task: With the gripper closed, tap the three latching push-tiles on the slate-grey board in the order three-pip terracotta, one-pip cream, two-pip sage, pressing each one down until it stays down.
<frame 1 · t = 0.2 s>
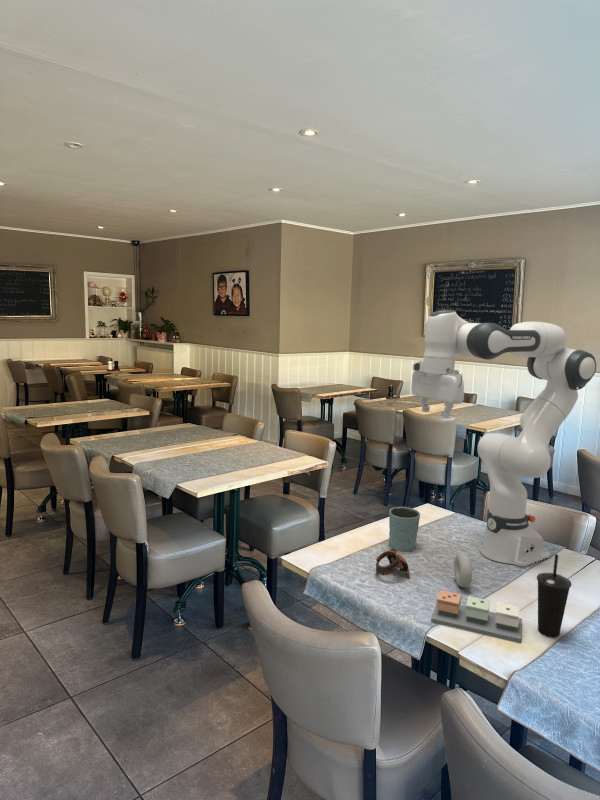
hand: (435, 414, 161), 48 cm above the table, fingers open, 8 cm apart
board: (476, 622, 139), on the table
green cylindrical pot: (402, 547, 184), on the table
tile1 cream: (507, 614, 136), point 4 cm above the table, slide at 0.0 cm
donut: (461, 586, 158), on the table
drinking cup: (548, 632, 136), on the table
tile3 terracotta: (449, 601, 141), point 4 cm above the table, slide at 0.0 cm
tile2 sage: (477, 607, 139), point 4 cm above the table, slide at 0.0 cm
brown rounded piece: (392, 574, 164), on the table
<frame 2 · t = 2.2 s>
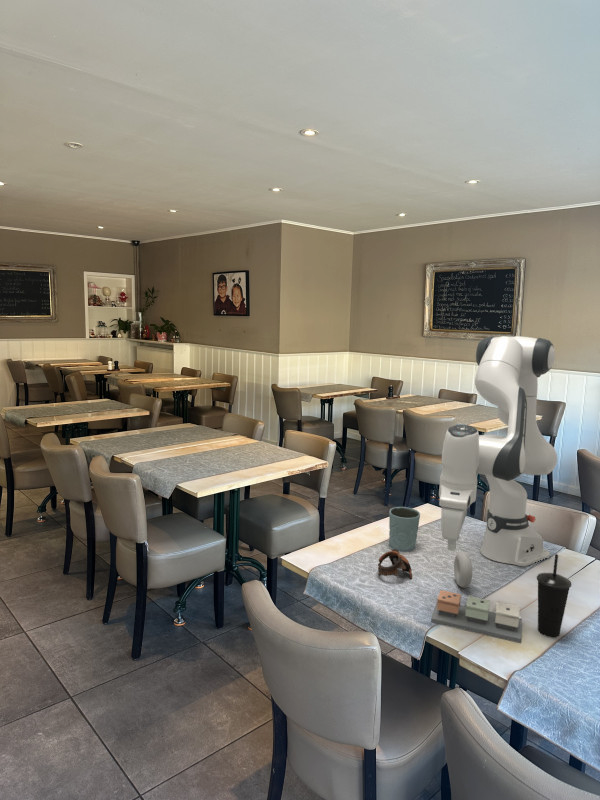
hand: (453, 544, 139), 19 cm above the table, fingers open, 5 cm apart
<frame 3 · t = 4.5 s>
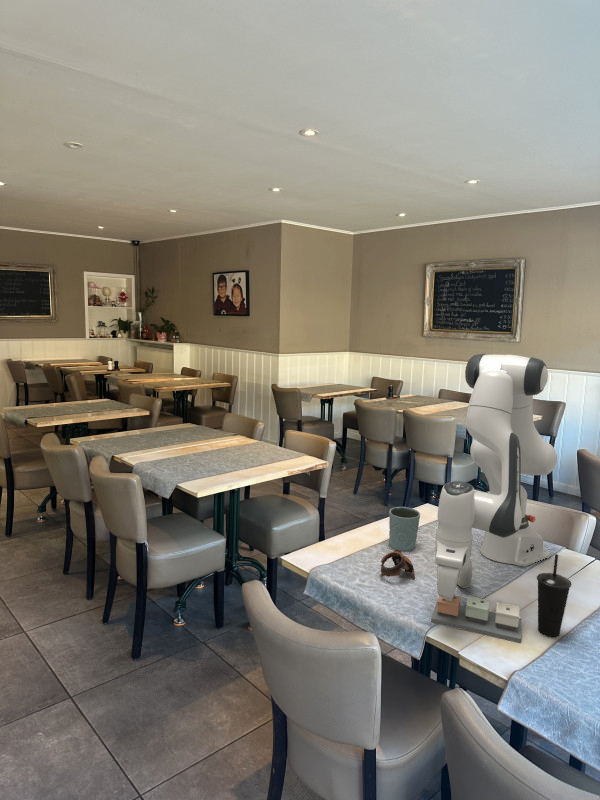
hand: (449, 598, 141), 5 cm above the table, fingers closed, pressing on tile3 terracotta
tile3 terracotta: (448, 603, 142), point 3 cm above the table, slide at -0.6 cm, touching gripper
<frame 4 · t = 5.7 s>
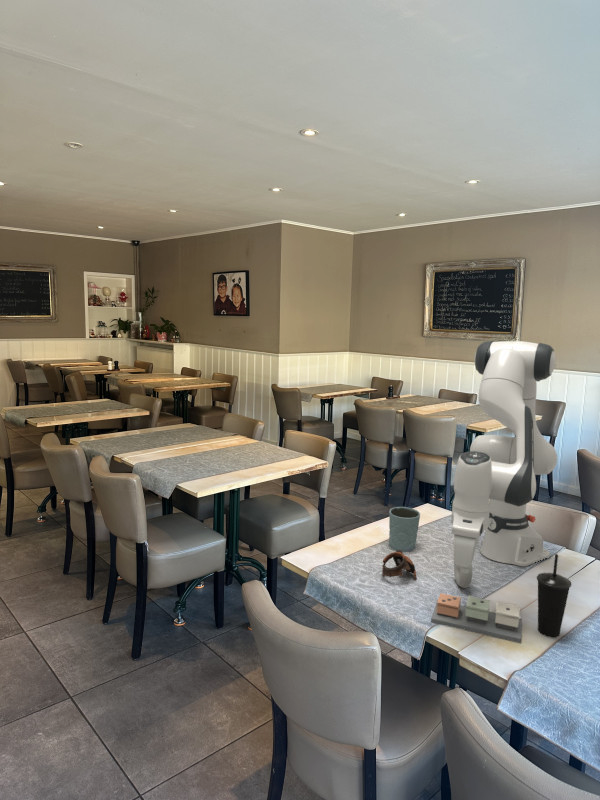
hand: (465, 570, 139), 13 cm above the table, fingers closed
tile3 terracotta: (448, 604, 142), point 3 cm above the table, slide at -0.9 cm
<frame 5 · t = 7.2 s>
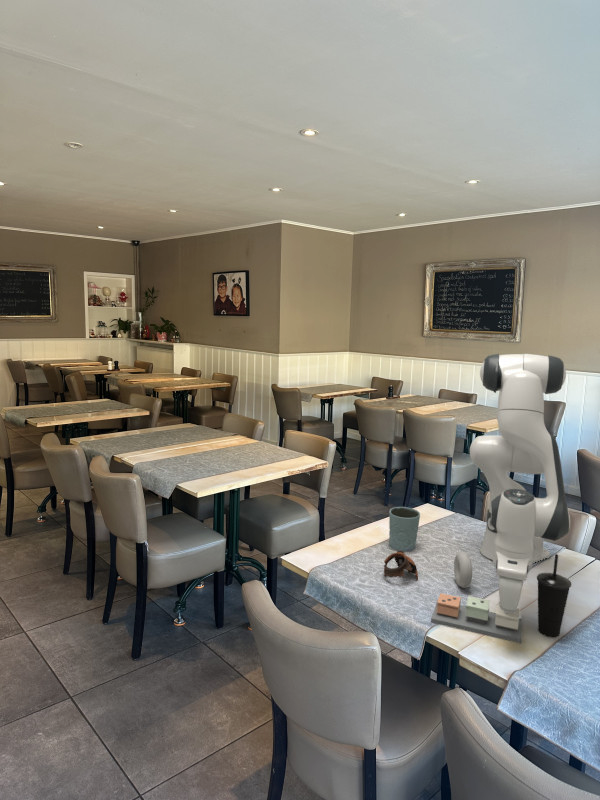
hand: (507, 611, 136), 5 cm above the table, fingers closed, pressing on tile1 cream
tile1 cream: (507, 616, 136), point 3 cm above the table, slide at -0.5 cm, touching gripper
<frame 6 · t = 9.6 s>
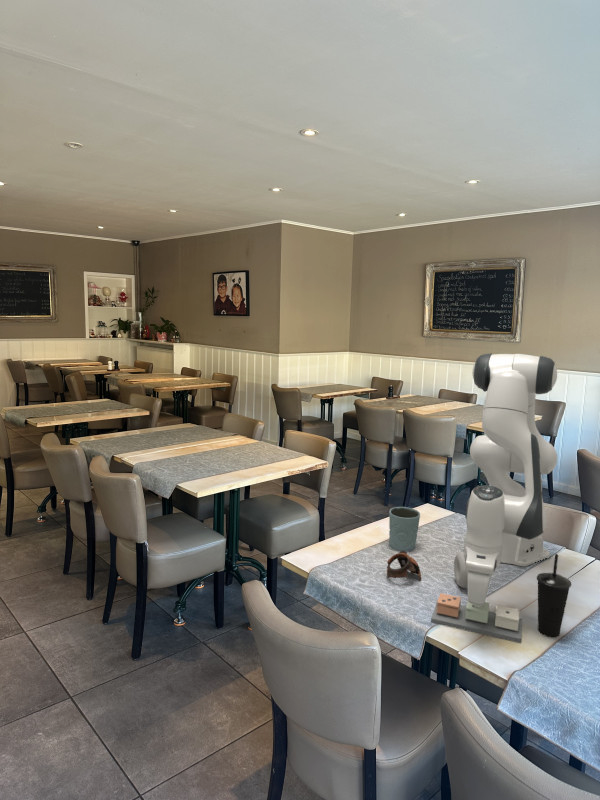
hand: (477, 604, 139), 5 cm above the table, fingers closed
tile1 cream: (507, 617, 136), point 3 cm above the table, slide at -0.9 cm
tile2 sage: (477, 610, 139), point 3 cm above the table, slide at -0.7 cm
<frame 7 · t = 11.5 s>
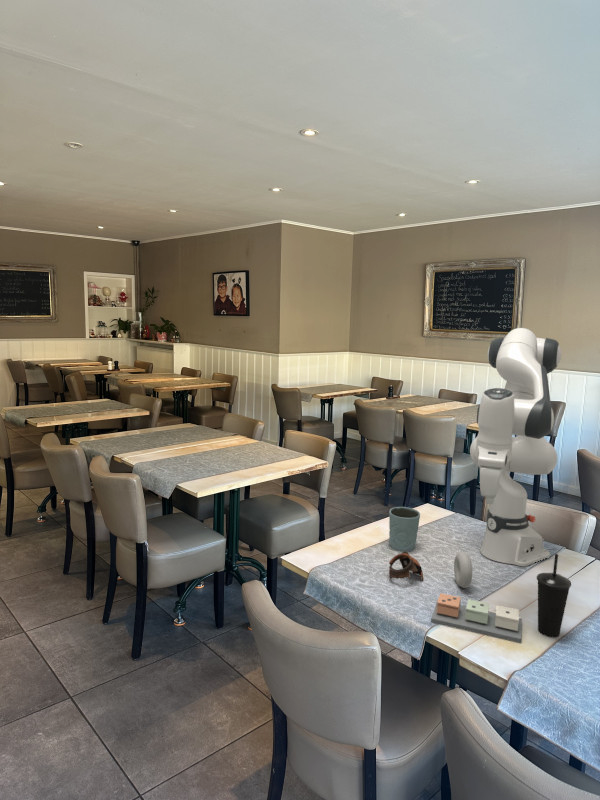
hand: (489, 502, 147), 28 cm above the table, fingers closed
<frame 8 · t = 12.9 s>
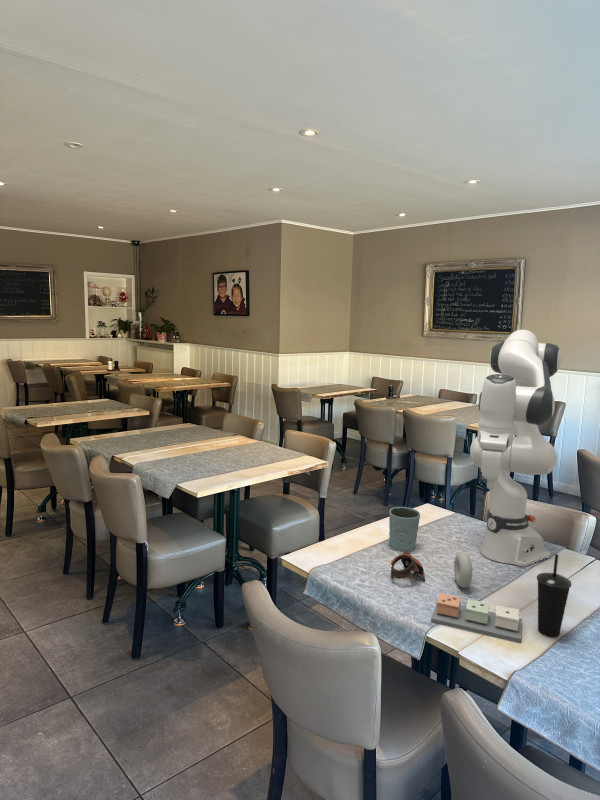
hand: (490, 487, 148), 31 cm above the table, fingers closed
at the end: tile3 terracotta slide at -0.9 cm; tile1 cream slide at -0.9 cm; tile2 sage slide at -0.9 cm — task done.
